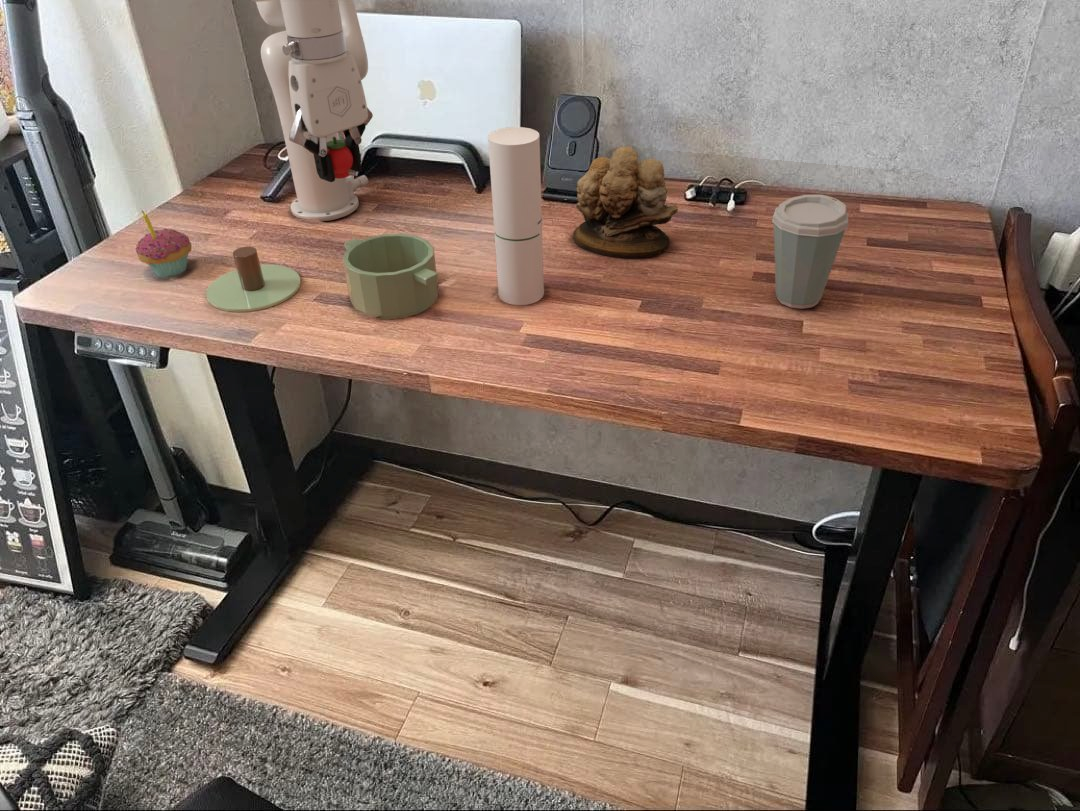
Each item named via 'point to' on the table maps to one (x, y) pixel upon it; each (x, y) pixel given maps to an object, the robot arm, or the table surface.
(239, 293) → the lid
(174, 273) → the sprinkled cake with candle
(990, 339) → the table surface
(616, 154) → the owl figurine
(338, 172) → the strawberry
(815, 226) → the disposable coffee cup
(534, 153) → the cylindrical container
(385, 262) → the pot
